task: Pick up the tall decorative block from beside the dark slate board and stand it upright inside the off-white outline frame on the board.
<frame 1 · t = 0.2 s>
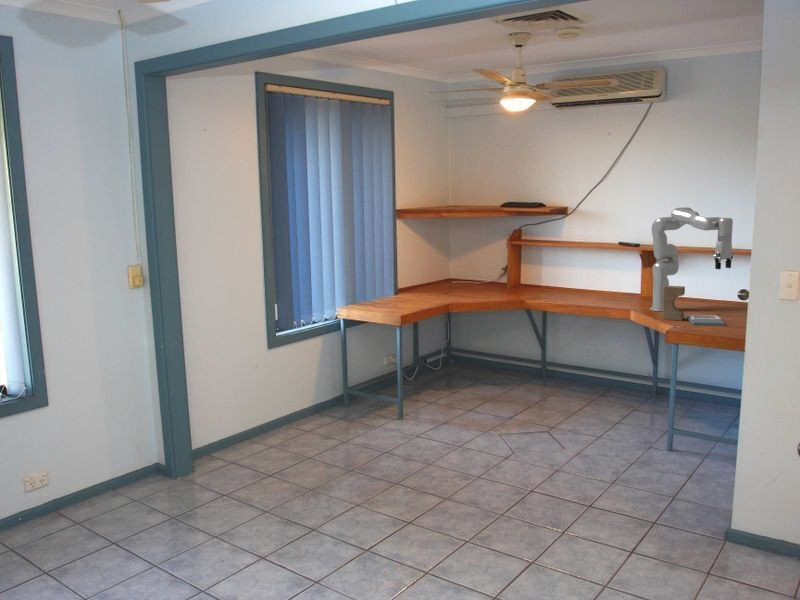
hand: (723, 268, 398), 31 cm above the table, tool pointing down, fingers open, 9 cm apart
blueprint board: (704, 321, 401), on the table
decorative block: (673, 319, 409), on the table
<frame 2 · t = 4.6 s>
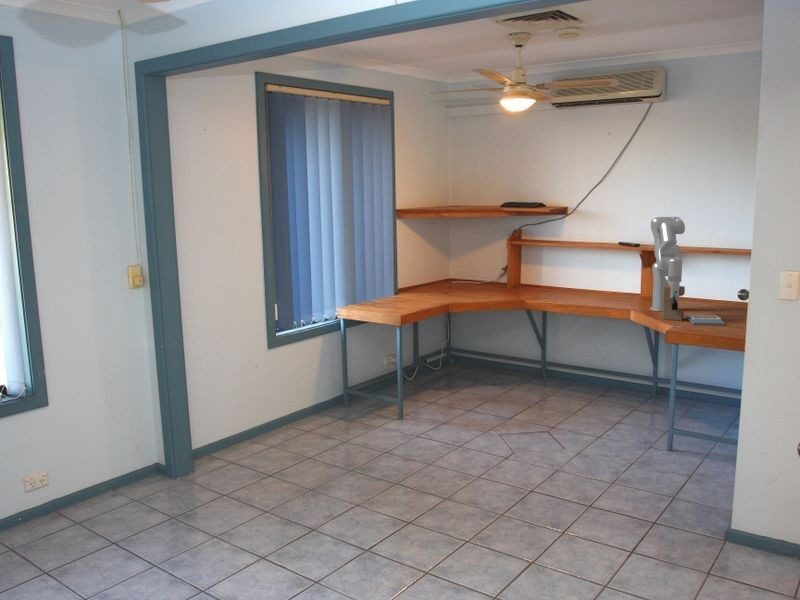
hand: (673, 308, 408), 7 cm above the table, tool pointing down, fingers closed on decorative block, 6 cm apart
decorative block: (673, 319, 409), on the table, touching gripper
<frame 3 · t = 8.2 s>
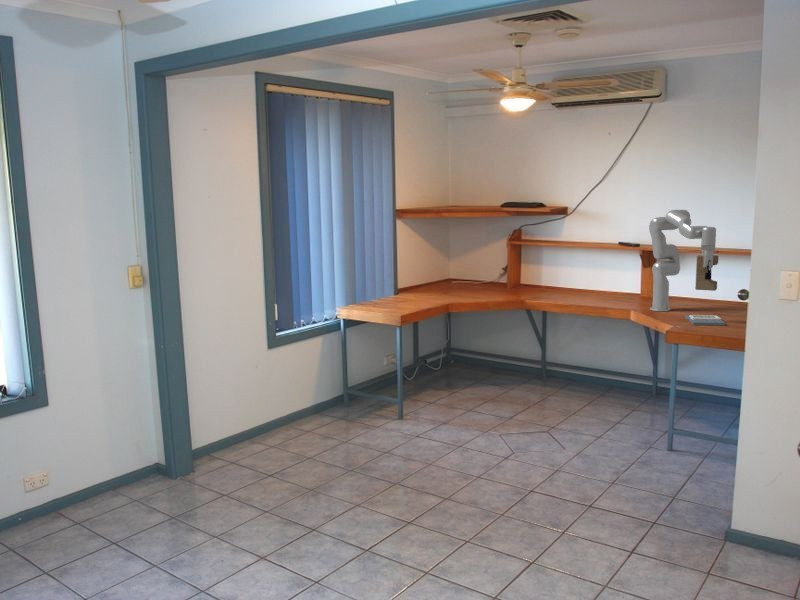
hand: (706, 278, 398), 25 cm above the table, tool pointing down, fingers closed on decorative block, 6 cm apart
decorative block: (706, 289, 399), point 19 cm above the table, touching gripper
when the fingers open (10 cm above the table, at t = 12.0 s): decorative block stays where it is, resting on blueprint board.
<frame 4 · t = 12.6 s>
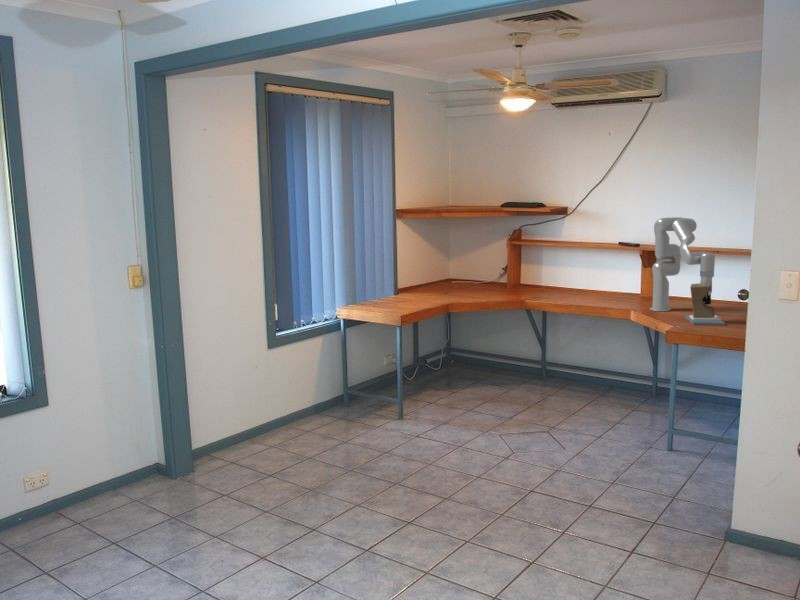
hand: (705, 303, 400), 11 cm above the table, tool pointing down, fingers open, 9 cm apart
decorative block: (704, 316, 402), point 3 cm above the table, touching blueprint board, gripper
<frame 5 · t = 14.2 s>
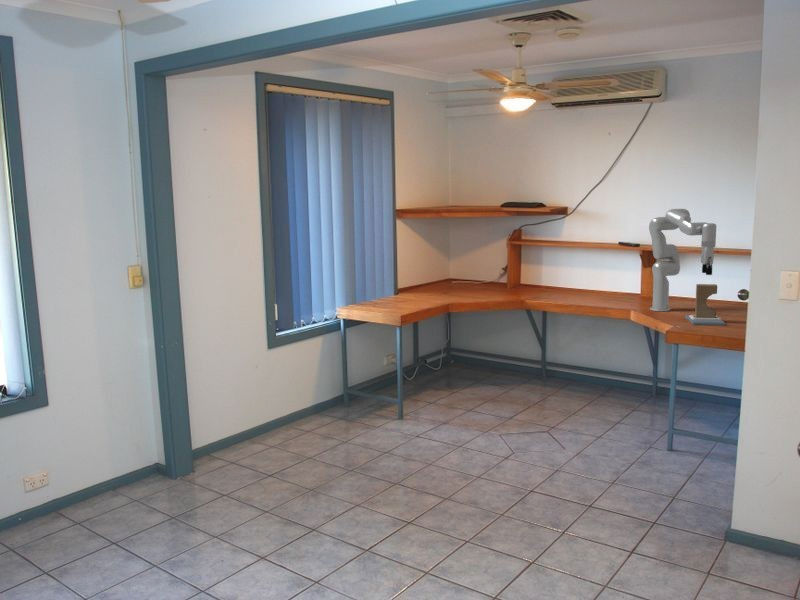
hand: (706, 273, 398), 28 cm above the table, tool pointing down, fingers open, 9 cm apart
decorative block: (705, 318, 402), point 1 cm above the table, touching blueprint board
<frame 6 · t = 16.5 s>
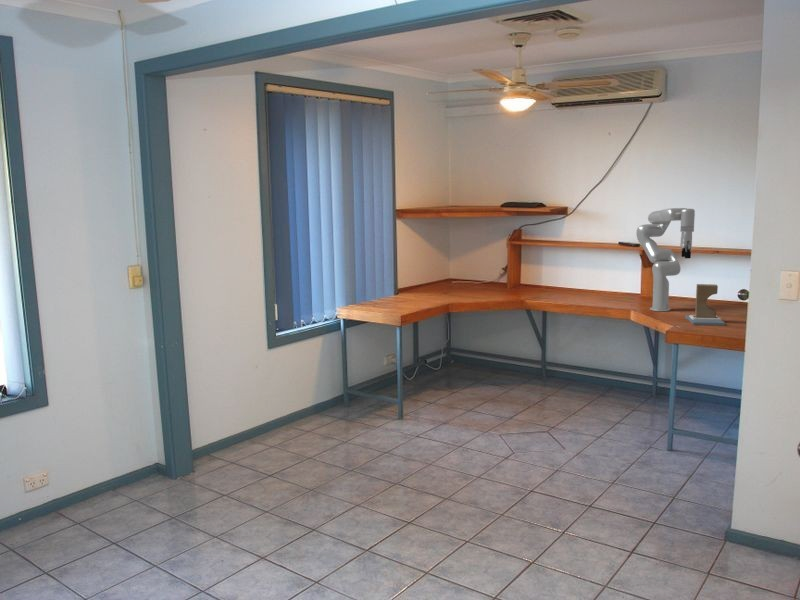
hand: (685, 257, 413), 36 cm above the table, tool pointing down, fingers open, 9 cm apart
nothing on the table moved.
at the end: decorative block 0.3 cm from the target spot on the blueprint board, point 1.4 cm above the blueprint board's base; decorative block tilted 0°; the gripper is holding nothing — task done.
